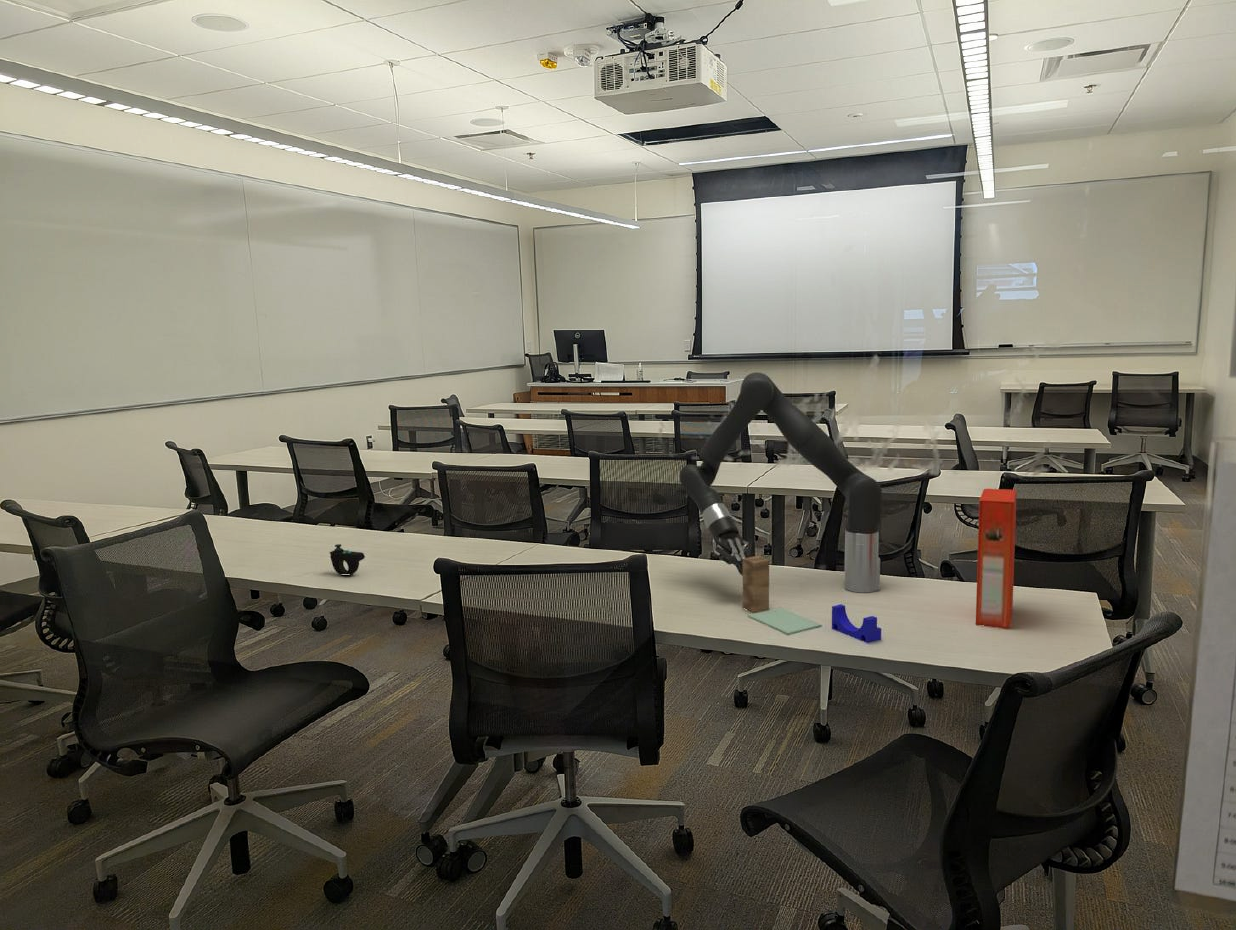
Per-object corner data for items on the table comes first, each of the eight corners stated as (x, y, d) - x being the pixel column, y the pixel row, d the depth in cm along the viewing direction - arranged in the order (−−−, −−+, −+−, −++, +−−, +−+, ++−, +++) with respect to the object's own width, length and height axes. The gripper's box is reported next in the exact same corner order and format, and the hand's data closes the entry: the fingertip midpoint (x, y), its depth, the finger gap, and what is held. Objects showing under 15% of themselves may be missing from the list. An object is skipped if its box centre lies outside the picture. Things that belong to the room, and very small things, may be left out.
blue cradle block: (881, 640, 194) (881, 616, 193) (867, 643, 192) (868, 619, 191) (844, 625, 204) (845, 603, 203) (831, 629, 202) (832, 606, 201)
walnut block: (742, 608, 219) (742, 558, 217) (757, 605, 221) (757, 556, 219) (754, 613, 214) (754, 562, 212) (769, 610, 217) (769, 560, 215)
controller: (338, 572, 266) (336, 542, 264) (368, 575, 261) (365, 545, 259) (329, 575, 262) (326, 545, 260) (359, 579, 257) (356, 548, 255)
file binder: (974, 624, 202) (979, 499, 197) (979, 604, 217) (984, 488, 212) (1009, 629, 198) (1015, 502, 193) (1012, 608, 213) (1018, 490, 208)
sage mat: (747, 616, 212) (747, 614, 212) (780, 609, 217) (780, 607, 217) (788, 634, 198) (788, 632, 198) (821, 626, 203) (821, 624, 203)
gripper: (705, 518, 223) (732, 571, 214) (744, 512, 229) (771, 563, 221) (695, 533, 229) (721, 585, 220) (732, 527, 235) (759, 577, 226)
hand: (746, 574), depth 220 cm, fingers closed
